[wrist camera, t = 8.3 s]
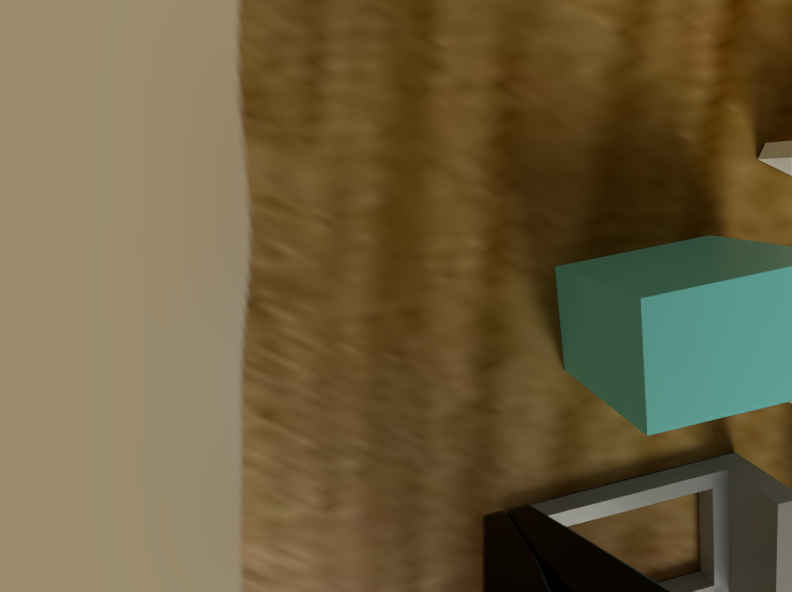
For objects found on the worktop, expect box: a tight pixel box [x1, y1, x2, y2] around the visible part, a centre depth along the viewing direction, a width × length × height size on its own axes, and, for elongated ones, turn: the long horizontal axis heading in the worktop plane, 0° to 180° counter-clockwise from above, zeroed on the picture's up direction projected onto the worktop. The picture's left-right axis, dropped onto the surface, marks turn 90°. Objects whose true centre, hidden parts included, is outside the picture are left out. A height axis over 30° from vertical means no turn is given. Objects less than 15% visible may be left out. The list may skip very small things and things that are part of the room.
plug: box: [555, 235, 792, 436], centre depth 16 cm, size 7×4×5 cm, turn 100°
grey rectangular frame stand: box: [505, 453, 792, 592], centre depth 19 cm, size 10×6×3 cm, turn 100°
